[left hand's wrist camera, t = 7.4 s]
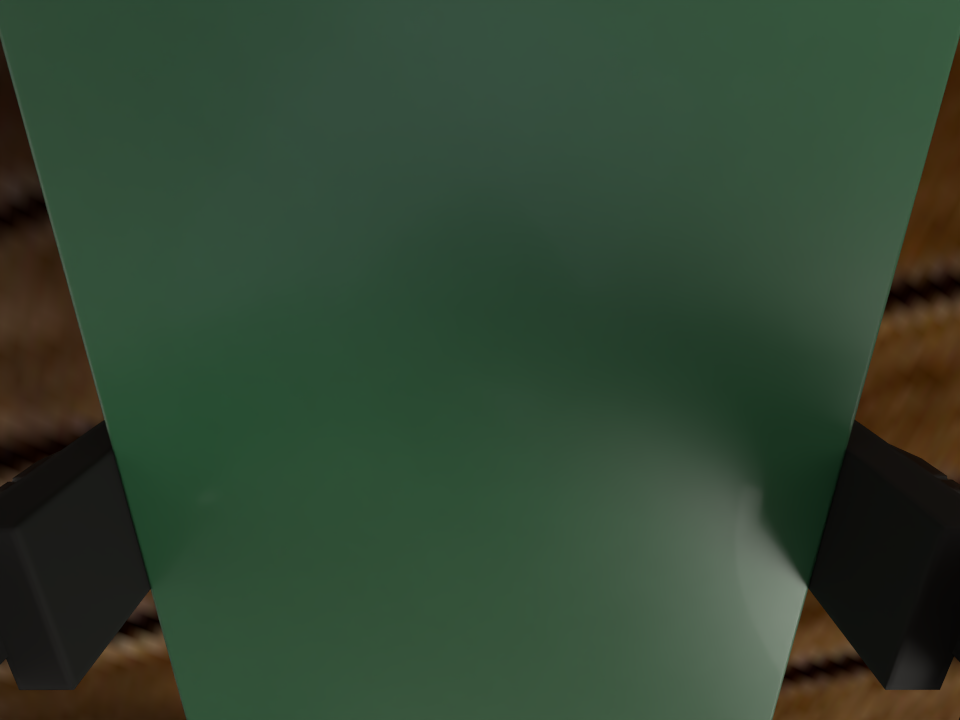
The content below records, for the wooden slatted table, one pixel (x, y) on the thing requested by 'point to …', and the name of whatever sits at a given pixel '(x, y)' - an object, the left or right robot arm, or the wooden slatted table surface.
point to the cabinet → (479, 329)
